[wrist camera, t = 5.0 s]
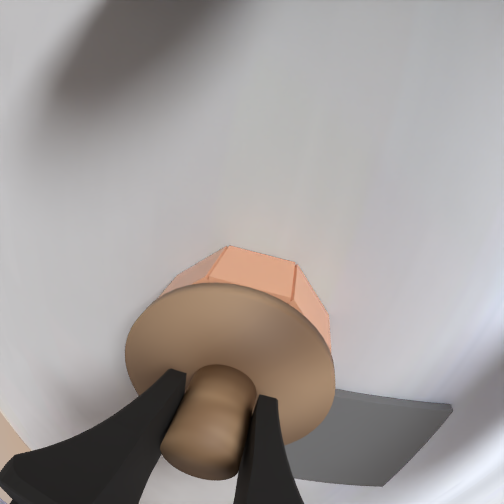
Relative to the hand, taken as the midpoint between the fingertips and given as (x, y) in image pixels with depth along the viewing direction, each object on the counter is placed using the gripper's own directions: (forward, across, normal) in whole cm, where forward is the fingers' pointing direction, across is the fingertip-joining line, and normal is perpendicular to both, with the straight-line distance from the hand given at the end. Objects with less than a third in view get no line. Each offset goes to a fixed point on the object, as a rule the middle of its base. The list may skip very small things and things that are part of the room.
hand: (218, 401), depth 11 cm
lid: (+2, 0, 0) cm, 2 cm away
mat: (+5, -9, +8) cm, 13 cm away
